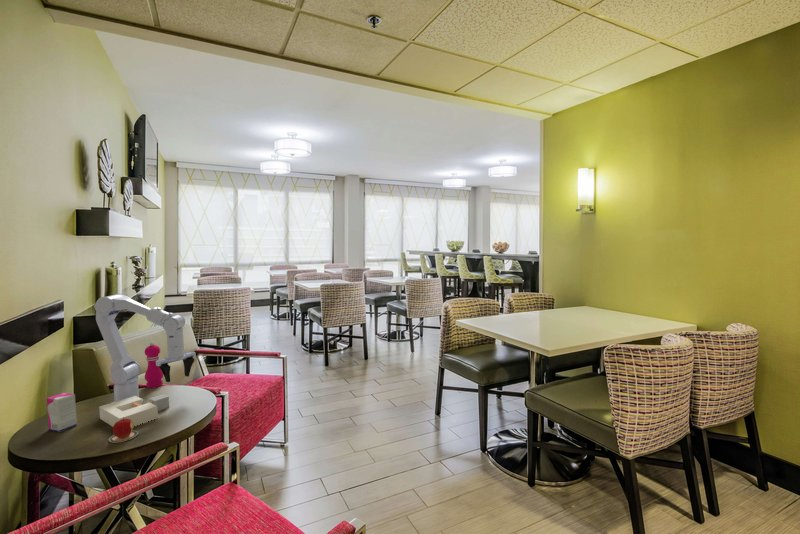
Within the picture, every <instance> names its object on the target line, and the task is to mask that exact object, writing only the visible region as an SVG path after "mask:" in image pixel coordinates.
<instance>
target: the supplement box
mask: <svg viewBox="0 0 800 534" xmlns="http://www.w3.org/2000/svg"><path fill="white" fill-rule="evenodd" d="M46 409H47V410H46V411H47V420H48V421H47V423H48V431H51V432H56V433H60V432H61V433H62V432H63V431H66V430H68V429H71V428H74V427H77V426H78V425H77V424H78V423H77V408H76V394H75V393H69V392H62V393H59V394H56V395H52V396H49V397H47V398H46Z"/></svg>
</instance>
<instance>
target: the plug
mask: <svg viewBox="0 0 800 534" xmlns="http://www.w3.org/2000/svg"><path fill="white" fill-rule="evenodd" d="M169 399H170V397H169V396H168V395H166V394H159V395H157V396H153V397H149V400H148V401H149V402H148V403H152V404H154V405H156V406H157V411H158V412H159V411H163V410H166V409H169V408H170V400H169Z"/></svg>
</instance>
